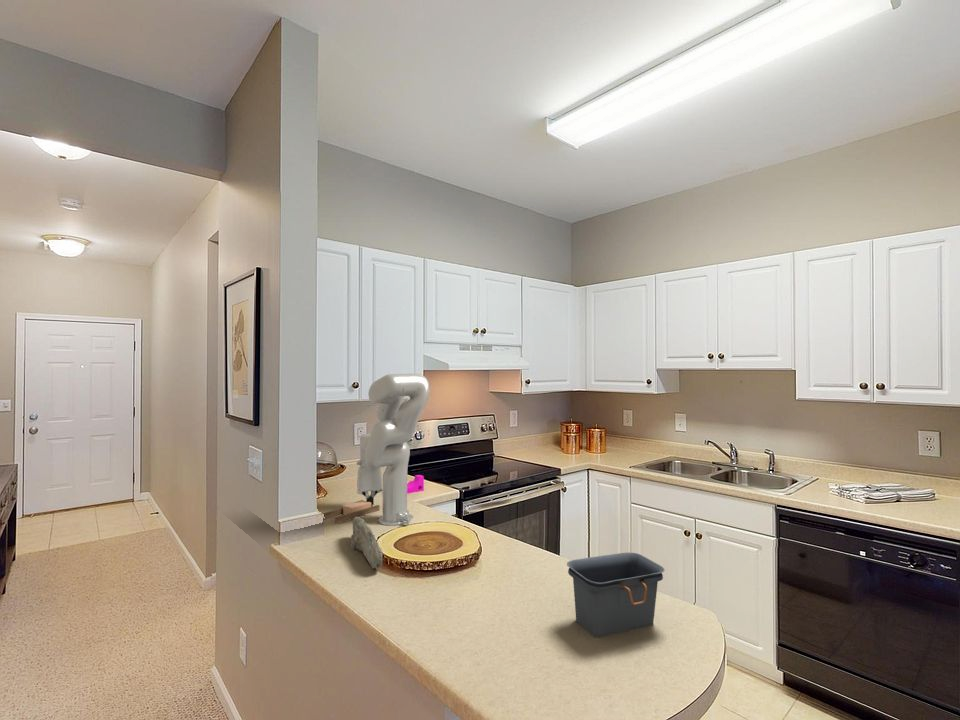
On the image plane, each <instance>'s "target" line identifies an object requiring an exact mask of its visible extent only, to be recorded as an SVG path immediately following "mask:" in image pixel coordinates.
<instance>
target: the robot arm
mask: <svg viewBox="0 0 960 720" xmlns="http://www.w3.org/2000/svg"><path fill="white" fill-rule="evenodd" d="M405 397H407V398H406V399H405V400H404V398H405ZM429 397H430V383H429V381H428V378H426V376H425V375H422V374H419V373H388V374H385V375H383V376H381V377H380V378H378V379H377V380H375V381H373V382H372V383H371V385H370V387H369V389H368V399H369V401H370V402H371V403H372V404H376V405H377V404H378V408H377V411H376V413H375V414H376V417H377V419H378V420H379V421H377V422H375V423H374V425H373V426H372V429H371V432H370V433H365V434H364V433H363V434H361V435H360V437H359V457H360V458H359V461H356V465H358V469H357V476H356V477H357V478H356V479H357V480H356V481H357V482H356V487H357V489H356V490H357V491H356V494H357V495H363V496H364V497H365V498H366V499H365V501H367V502H371V507H372V506H375V504H374V501H375V500H374V498H375V497H376V495H377V494H378V493H381V492H382V515H381V516H380V517H379V518H378V523H379V524H380V525H383V526H387V527H388V526H390V527H397V526H402V525H407V524H409V523H410V522H412V519H413V518H414V514H411V513H410V510H409V509H408V494H407V484H408V467H409V466H408V465H409V461H410V455H411V453H410V452H411V449H410V446H409V444H408V442H410V441H411V440H412V437H413V435H414V433H415V431H416V428H417V425H418V423H419V420H420V417H421V415H422V413H423V410H424V409H425V407H426V406H427V403H428V400H429ZM384 467H385V469H384V471H383V474H382V468H384ZM369 492H370V493H369ZM369 494H370V495H369Z"/></svg>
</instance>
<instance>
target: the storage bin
mask: <svg viewBox="0 0 960 720" xmlns="http://www.w3.org/2000/svg"><path fill="white" fill-rule="evenodd" d="M566 566H567V567H568V569H567V571H568V572H567V573H568V575H569V576H570V577H572V579H573V580H572V581H573V593H574V596H573V597H574V608H575V622H577V624H579V625H580V626H581V627H582V628H583V629H584V630H585V631H586V632H588V633H589V634H590V635H591V636H592V637H593V638H597V639H599V638H604V637H607V636H612V635H615V634H618V633H623V632H628V631H631V630H635V629H640V628H643V627H648V626H652V625H654V619H655V611H656V602H657V601H656V600H657V593H658V583H659V582H660V581H662V580H664V575H663V573H664V572H665V568H664V566H662V565H661V564H659V563H657V562H655V561H653V560H652V559H649V558H648V557H646V556H644V555H643V554H640V553H636V552H620V553H612V554H611V553H610V554H605V555H599V556H592V557H591V556H590V557H583V558H578V559H571V560H569V561H567V562H566Z"/></svg>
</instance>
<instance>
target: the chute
mask: <svg viewBox="0 0 960 720" xmlns="http://www.w3.org/2000/svg"><path fill="white" fill-rule="evenodd" d="M379 511H380V504H376V505H372V507H369V508H366V509H362V510H359V511H356V512H352V513H349V514H346V515H345V514H343V507H341V508H340V507H339V508H337V509H333V510H330V511H326V512H323V514H324V517H325V519H324V520H327V519H330V518H333V517H335V518H334V523H335V525H337V524H341V523H344V522H346V521H347V520H348V521H350V519H351V520H353V519H354V518H355V517H360V518H361V517H363V516H366V514H367V515H369V514H372V513H373V514H374V513H376V512H379ZM340 514H341V515H340Z"/></svg>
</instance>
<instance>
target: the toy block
mask: <svg viewBox="0 0 960 720" xmlns="http://www.w3.org/2000/svg"><path fill="white" fill-rule="evenodd" d="M424 479H425V477H424V475H421V474H416V475H414V479H413V480H409V482H407V495H408V494H412V493H418V492H424V491H425V490H424V489H425V488H424V487H425V486H424V485H425V480H424Z"/></svg>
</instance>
